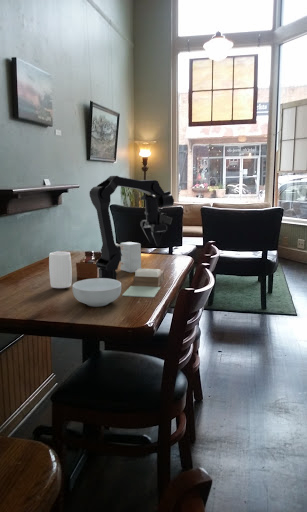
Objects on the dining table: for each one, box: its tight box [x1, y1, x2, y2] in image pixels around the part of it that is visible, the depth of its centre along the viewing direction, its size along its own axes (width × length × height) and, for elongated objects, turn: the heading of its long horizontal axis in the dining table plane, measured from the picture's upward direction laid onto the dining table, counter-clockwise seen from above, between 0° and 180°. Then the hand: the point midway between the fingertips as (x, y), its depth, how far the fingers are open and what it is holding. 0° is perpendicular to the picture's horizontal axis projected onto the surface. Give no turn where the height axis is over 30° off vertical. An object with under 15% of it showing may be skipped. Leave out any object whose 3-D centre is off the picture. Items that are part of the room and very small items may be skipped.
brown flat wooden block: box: [133, 269, 165, 287], centre depth 175 cm, size 14×10×4 cm
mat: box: [121, 285, 162, 298], centre depth 162 cm, size 14×12×1 cm
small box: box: [119, 241, 142, 273], centre depth 198 cm, size 8×6×13 cm
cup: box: [48, 250, 73, 289], centre depth 166 cm, size 8×8×14 cm
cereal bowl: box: [71, 277, 122, 308], centre depth 147 cm, size 17×17×7 cm
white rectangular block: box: [134, 267, 161, 277], centre depth 172 cm, size 6×9×2 cm, turn 79°
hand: (154, 244), depth 187 cm, fingers open, 9 cm apart
